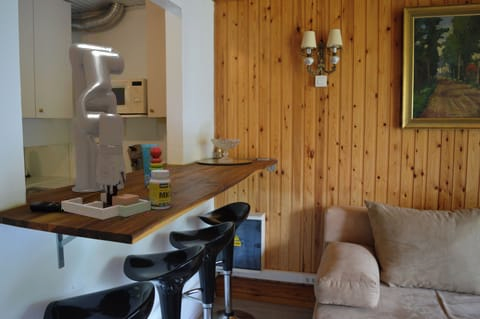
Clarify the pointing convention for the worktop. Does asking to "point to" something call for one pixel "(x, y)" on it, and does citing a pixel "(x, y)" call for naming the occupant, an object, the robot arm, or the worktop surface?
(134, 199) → the block
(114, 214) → the box
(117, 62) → the robot arm
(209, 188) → the worktop surface
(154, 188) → the supplement bottle
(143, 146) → the tube
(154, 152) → the stacking toy
